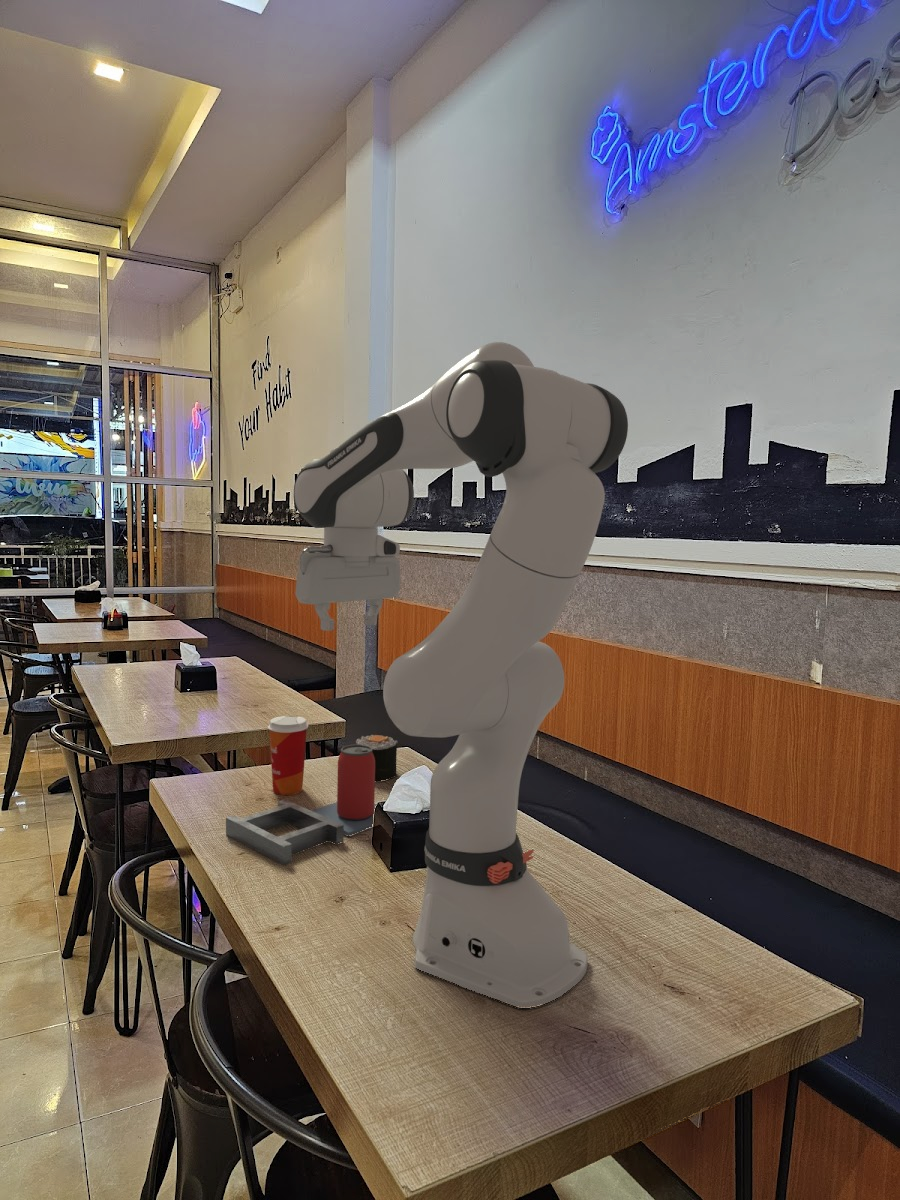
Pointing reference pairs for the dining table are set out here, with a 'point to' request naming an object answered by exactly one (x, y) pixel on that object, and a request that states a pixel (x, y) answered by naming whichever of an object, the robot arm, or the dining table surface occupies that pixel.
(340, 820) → the rubber mat
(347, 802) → the beer can
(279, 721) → the paper cup
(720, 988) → the dining table surface
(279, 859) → the frame
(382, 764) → the sushi
